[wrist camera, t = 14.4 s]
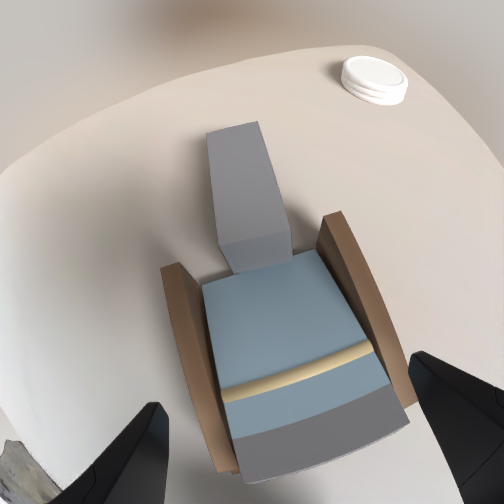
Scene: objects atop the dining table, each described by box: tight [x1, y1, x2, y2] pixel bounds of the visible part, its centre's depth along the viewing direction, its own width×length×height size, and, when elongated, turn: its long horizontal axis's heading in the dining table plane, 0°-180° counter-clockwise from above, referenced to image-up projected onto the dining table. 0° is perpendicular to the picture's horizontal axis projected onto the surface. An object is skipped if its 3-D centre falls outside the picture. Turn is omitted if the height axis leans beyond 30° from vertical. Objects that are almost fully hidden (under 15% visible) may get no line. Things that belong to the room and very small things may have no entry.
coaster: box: [341, 56, 408, 105], centre depth 33 cm, size 10×10×4 cm
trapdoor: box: [202, 249, 410, 484], centre depth 19 cm, size 10×16×3 cm, turn 17°
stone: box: [206, 121, 293, 274], centre depth 24 cm, size 5×5×12 cm
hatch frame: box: [160, 211, 418, 475], centre depth 19 cm, size 14×16×5 cm
